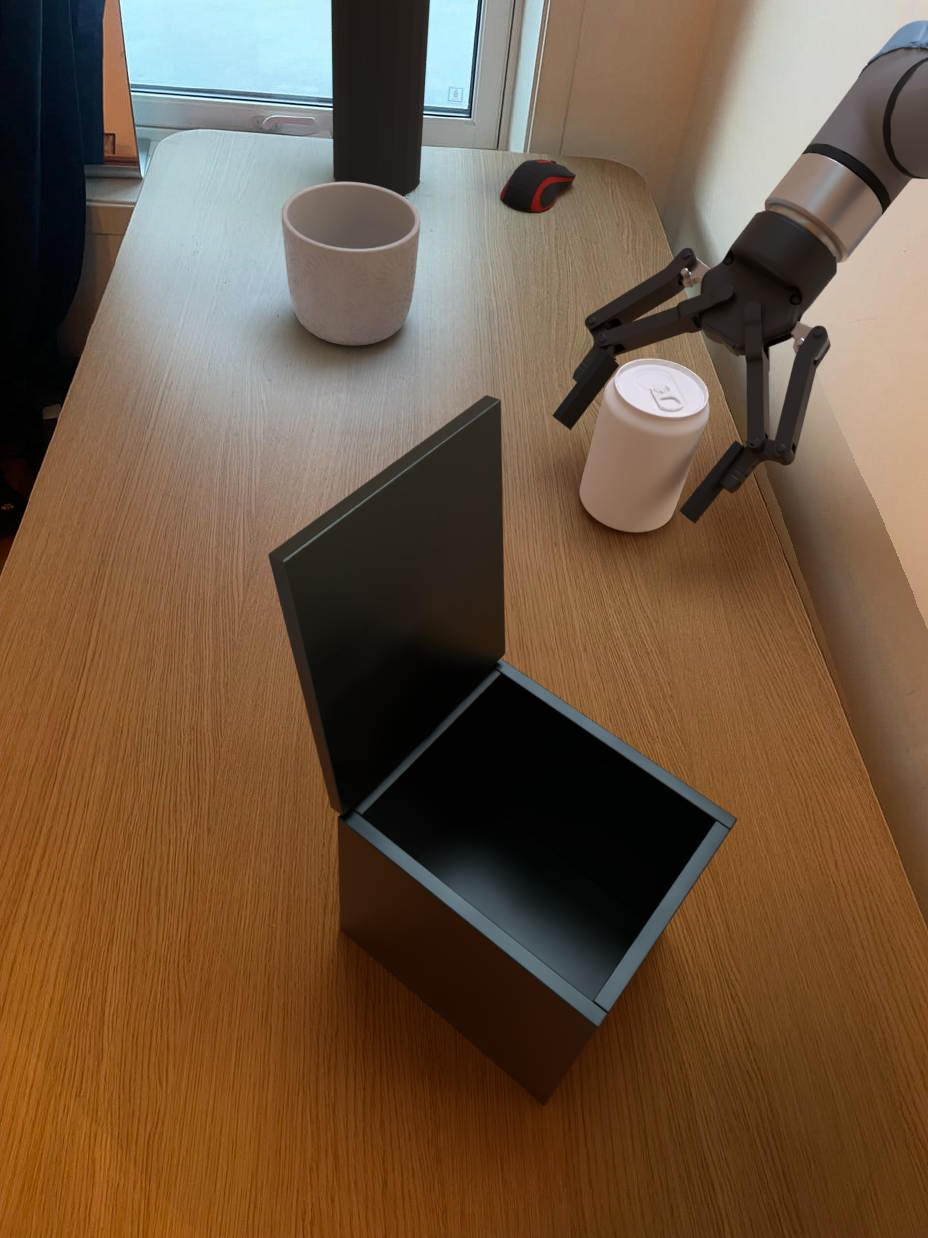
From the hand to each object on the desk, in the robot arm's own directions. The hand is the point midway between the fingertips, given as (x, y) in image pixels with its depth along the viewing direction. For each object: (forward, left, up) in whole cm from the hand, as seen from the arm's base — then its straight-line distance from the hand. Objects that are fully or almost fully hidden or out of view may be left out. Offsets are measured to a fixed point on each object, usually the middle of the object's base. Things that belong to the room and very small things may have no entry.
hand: (621, 468), depth 74 cm
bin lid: (-6, +34, +17) cm, 38 cm away
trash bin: (-14, +34, -5) cm, 37 cm away
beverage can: (0, -2, -5) cm, 6 cm away
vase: (+52, -29, -5) cm, 59 cm away
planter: (+34, -5, -5) cm, 34 cm away
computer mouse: (+37, -41, -5) cm, 55 cm away
